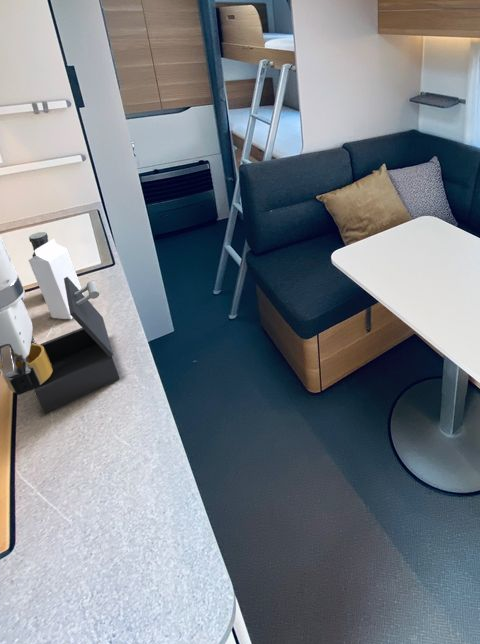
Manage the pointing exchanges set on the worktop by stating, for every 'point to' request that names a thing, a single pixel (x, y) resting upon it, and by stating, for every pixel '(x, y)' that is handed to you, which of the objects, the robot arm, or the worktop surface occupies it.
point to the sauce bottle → (38, 240)
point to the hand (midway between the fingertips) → (30, 375)
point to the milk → (54, 277)
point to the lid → (88, 313)
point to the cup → (34, 364)
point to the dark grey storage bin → (74, 369)
